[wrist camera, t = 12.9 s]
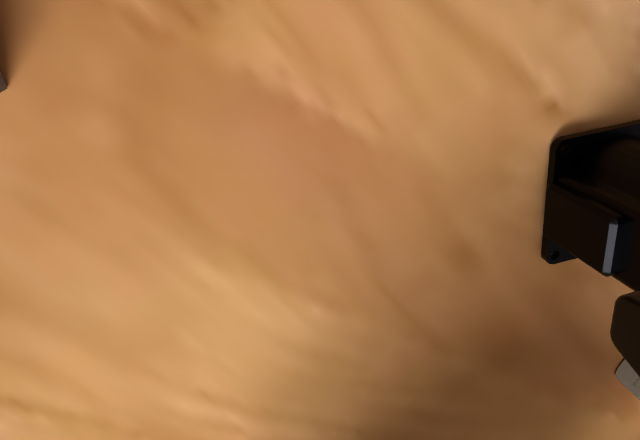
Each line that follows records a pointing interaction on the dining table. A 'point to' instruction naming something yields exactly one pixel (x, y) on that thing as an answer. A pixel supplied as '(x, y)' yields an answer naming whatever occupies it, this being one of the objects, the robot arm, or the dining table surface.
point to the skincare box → (629, 378)
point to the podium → (2, 83)
